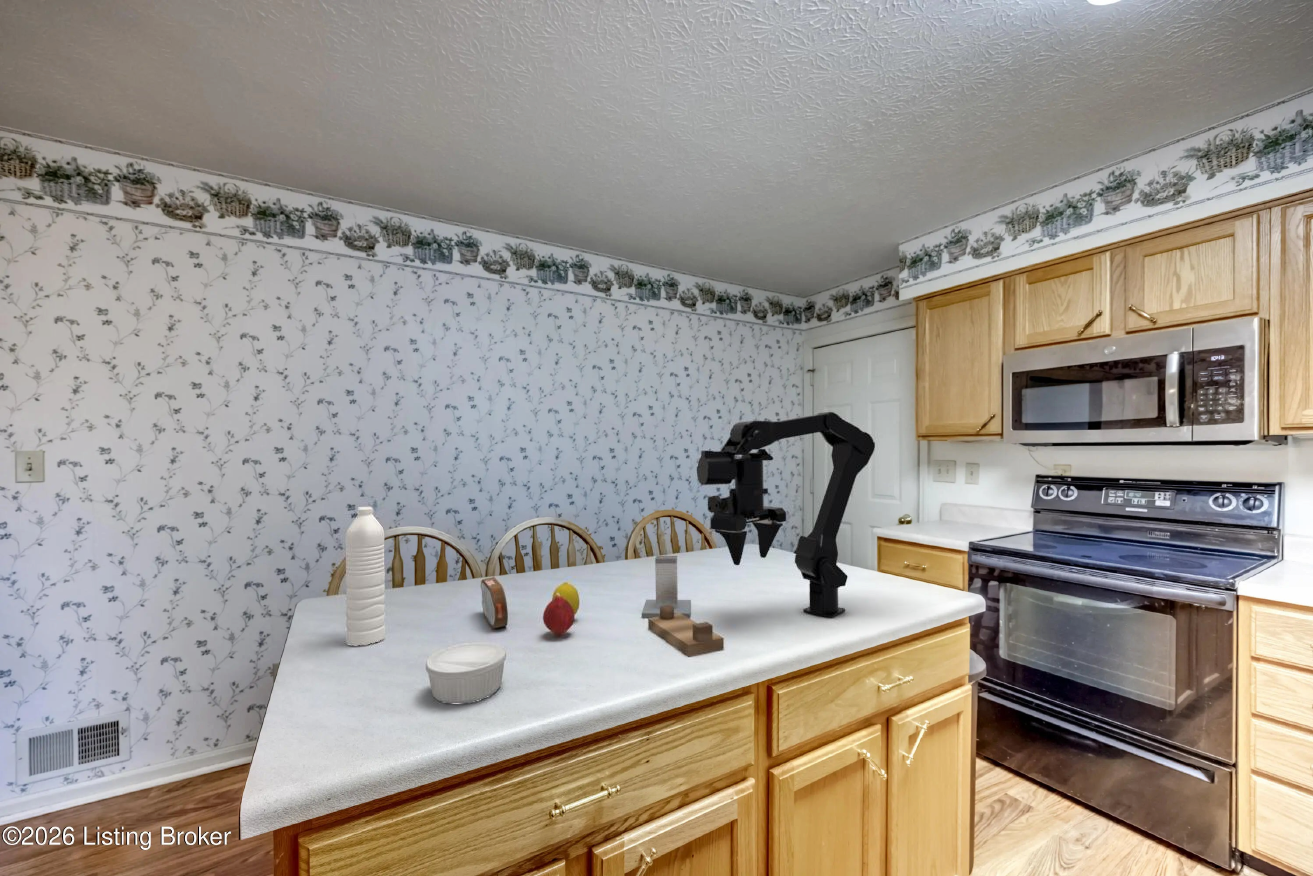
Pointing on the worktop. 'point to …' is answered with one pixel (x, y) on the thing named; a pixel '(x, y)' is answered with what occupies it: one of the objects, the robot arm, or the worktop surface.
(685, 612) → the mat
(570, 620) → the onion
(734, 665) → the worktop surface
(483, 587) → the tin
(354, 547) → the water bottle
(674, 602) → the lever cap
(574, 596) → the lemon
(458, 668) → the ramekin
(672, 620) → the body
